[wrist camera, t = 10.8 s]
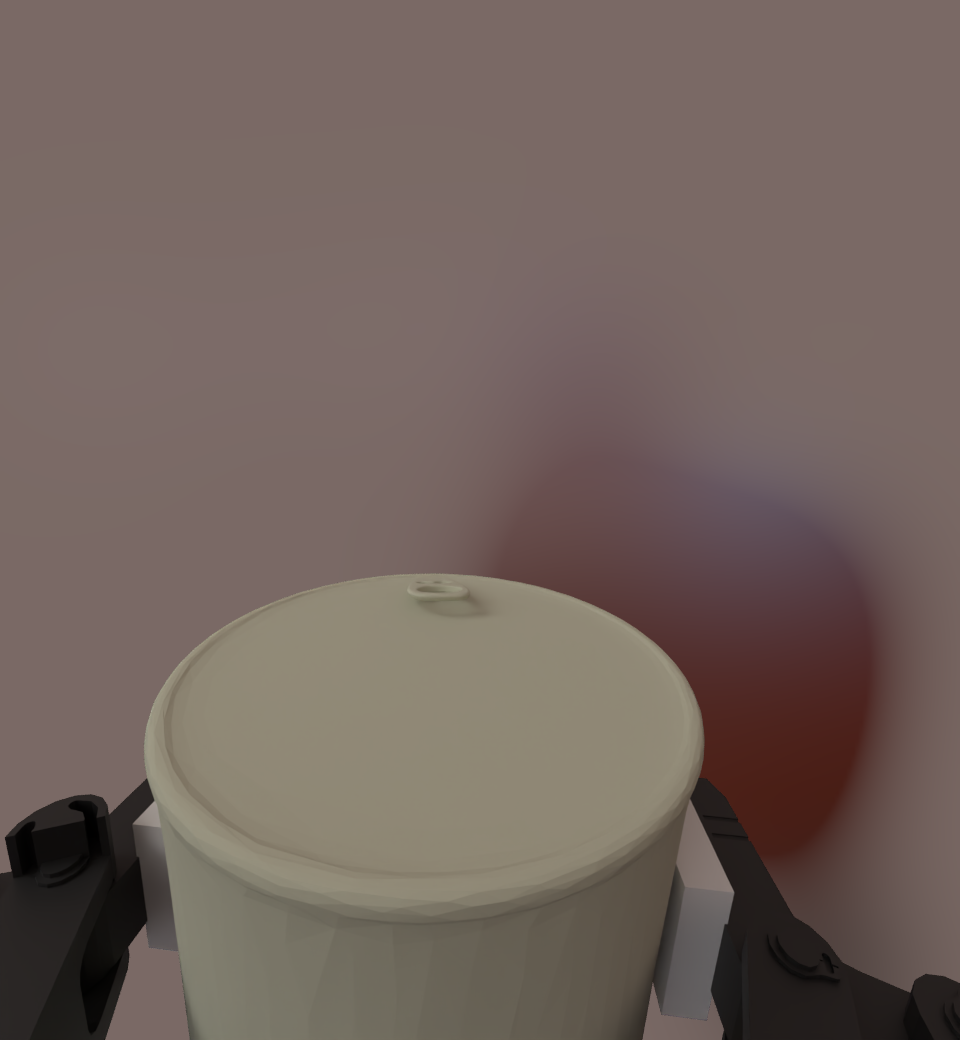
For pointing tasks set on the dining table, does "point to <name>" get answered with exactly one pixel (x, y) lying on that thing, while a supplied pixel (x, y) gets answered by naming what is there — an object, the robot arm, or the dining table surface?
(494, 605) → the can
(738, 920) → the robot arm
